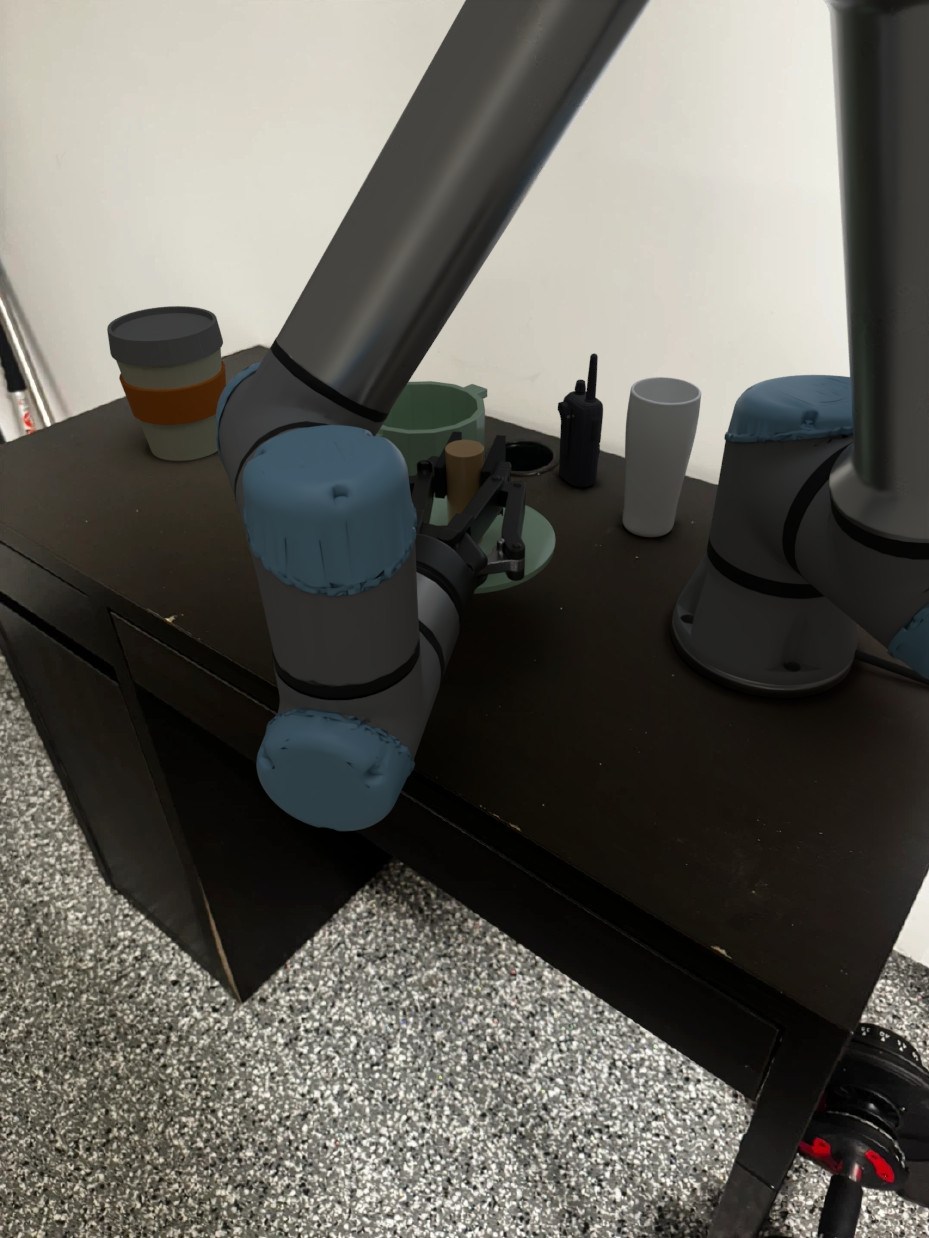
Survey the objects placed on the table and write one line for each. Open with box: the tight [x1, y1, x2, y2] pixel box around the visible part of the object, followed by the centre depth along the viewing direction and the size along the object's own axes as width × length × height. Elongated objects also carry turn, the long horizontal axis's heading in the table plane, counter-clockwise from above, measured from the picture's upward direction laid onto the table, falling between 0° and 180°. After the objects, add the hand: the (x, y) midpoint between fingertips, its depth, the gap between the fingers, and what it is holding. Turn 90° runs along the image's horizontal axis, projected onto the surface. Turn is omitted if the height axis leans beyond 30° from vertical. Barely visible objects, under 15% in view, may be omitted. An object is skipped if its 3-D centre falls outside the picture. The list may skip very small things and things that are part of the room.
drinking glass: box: [621, 376, 702, 538], centre depth 88 cm, size 7×7×15 cm
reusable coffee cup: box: [106, 305, 227, 462], centre depth 105 cm, size 13×13×15 cm
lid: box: [429, 440, 557, 595], centre depth 71 cm, size 15×15×9 cm
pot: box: [376, 380, 488, 497], centre depth 98 cm, size 14×19×10 cm
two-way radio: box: [557, 353, 604, 488], centre depth 97 cm, size 6×4×15 cm
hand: (479, 448), depth 74 cm, fingers closed on lid, 3 cm apart
